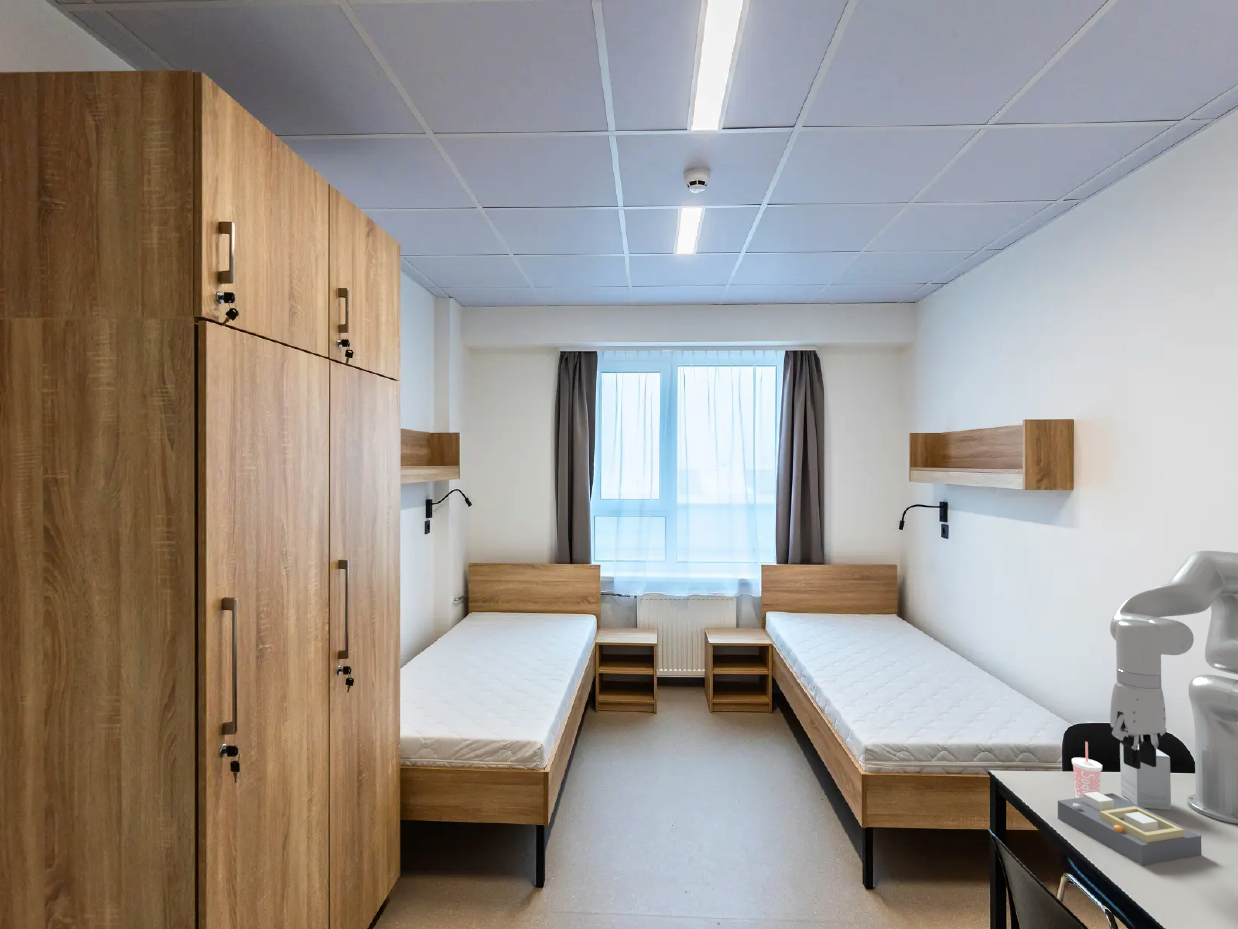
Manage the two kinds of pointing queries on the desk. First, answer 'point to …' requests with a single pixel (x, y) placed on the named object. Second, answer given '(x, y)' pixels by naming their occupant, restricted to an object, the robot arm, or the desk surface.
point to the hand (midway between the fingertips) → (1139, 764)
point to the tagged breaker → (1141, 821)
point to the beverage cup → (1086, 774)
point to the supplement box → (1147, 782)
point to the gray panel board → (1131, 831)
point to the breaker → (1098, 801)
